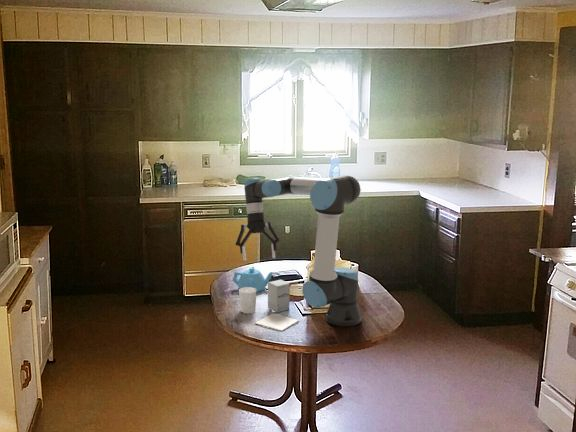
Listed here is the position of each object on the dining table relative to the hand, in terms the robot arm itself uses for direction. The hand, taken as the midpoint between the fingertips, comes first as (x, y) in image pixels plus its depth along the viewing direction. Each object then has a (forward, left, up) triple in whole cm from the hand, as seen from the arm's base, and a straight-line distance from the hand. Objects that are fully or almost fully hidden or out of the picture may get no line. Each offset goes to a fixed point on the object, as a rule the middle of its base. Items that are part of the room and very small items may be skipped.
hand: (259, 259), depth 280 cm
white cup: (+1, +7, -23) cm, 24 cm away
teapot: (+18, -18, -23) cm, 34 cm away
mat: (-18, +11, -23) cm, 31 cm away
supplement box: (-9, -3, -23) cm, 25 cm away
